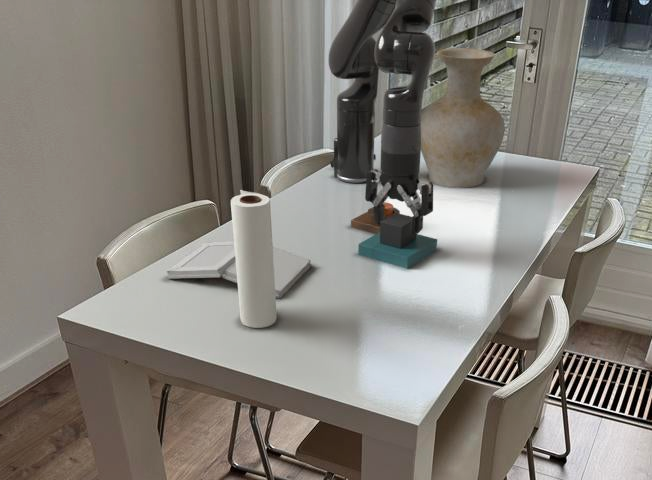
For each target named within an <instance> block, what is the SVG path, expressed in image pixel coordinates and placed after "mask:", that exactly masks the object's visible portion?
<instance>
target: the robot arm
mask: <svg viewBox="0 0 652 480" xmlns="http://www.w3.org/2000/svg"><path fill="white" fill-rule="evenodd" d="M436 2H437V0H356V2H355V4H354V6H353V8H352V10H351V12H350V13H349V14H348V17H347V19H346V20H345V21H344V23H343V25H342V26H341V28H340V29H339V31H338V32H337V33H336V35H335V37H334V38H333V40H332V42H331V45H330V47H329V51H328V67H329V70H330V73H331V74H332V75H333V76H334V77H335V78H337V79H340V80H353V82H352V83H351V85H350V86H349V87H348V88H346V89H344V90H343V91H341V92H339V94H338V95H337V96H336V137H335V138H334V139H333V157H332V160H331V161H330V163H329V164H330V168H332V169H333V177H334V178H336V179H338V180H339V181H342V182H345V183H352V184H360V183H365V193H364V199H365V201H366V202H370V203H371V204H372V205H373V207H374V221H376V224H378V225H380V221H382V220H384V214H385V205H384V204H383V203H384V202H385V201H387V199H388V198H389V199H390V200H397V201H398V202H402V203H403V202H404V203H405V205H406V207H407V208H409V209H410V212H411V213H412V215H413V216H411V217H412V234H415V235H416V234H420V232H421V231H422V230H423V228H424V226H423V225H424V217H425V216H428V215H430V214H432V213H433V211H434V183H433V182H432V181H429V182H420V179H419V174H420V169H421V154H422V152H421V112H422V111H423V109H422V107H423V99H424V92H425V88H426V86H427V85H426V84H427V81H428V78H429V76H430V75H429V74H430V72H431V69H432V66H433V63H434V60H435V55H436V45H435V41H434V40H433V37H432V36H431V35H430V34H428V33H426V31H427V30H428V29H429V28H430V27H431V25H432V21H433V17H434V12H435V8H436V4H437V3H436ZM379 32H380V33H379ZM378 33H379V35H378V37H377V39H375V38H374V37H373V36H375V35H376V34H378ZM380 72H382V73H386V74H393V75H405V76H406V75H407V76H412V77H411V81H410V83H408V84H404V85H399V86H393V87H390V88H388V89H386V90H385V92H384V95H383V108H382V109H383V110H382V114H383V115H382V127H381V133H380V134H381V135H380V137H381V138H380V167H379V169H380V171H381V172H380V171H379V170H378V169H377V168H375V161H376V159H377V155H376V153H375V130H376V129H375V126H376V124H375V123H376V121H375V119H376V101H377V97H378V91H379V74H380ZM374 168H375V169H374ZM379 182H380V184H381V186H382V188H381V189H380V191H379V192H378V185H379ZM418 190H419V192H418ZM419 194H420V195H421V197H420V195H419Z"/></svg>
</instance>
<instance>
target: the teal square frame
mask: <svg viewBox="0 0 652 480" xmlns="http://www.w3.org/2000/svg"><path fill="white" fill-rule="evenodd" d="M357 246H358V247H357V248H358V249H357V250H358V256H361V257H364V258H367V259H371V260H375V261H378V262H382V263H385V264H388V265H392V266H394V267H395V266H396V267H399V268H402V269H405V270H408V269H410V268H411V267H413V266H414V265H416V264H417V263H419V262H421V261H422V260H424V259H425V258H426V257H428V256H430V255H431V254H433V253H434V252H436V251H437V249H438V238H434V237H430V236H426V235H423V234H420V233H418V234H416V240H414V241H412V242H411V243H409V244H408V245H406V246H404V247H403V248H397V247H394V246H390V245H386V244H383V243H380V232H379V233H377V234H373V235H372V236H370V237H369V238H367V239H365V240H362V241H361V242H359V243H358V245H357Z"/></svg>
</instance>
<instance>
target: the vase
mask: <svg viewBox="0 0 652 480" xmlns="http://www.w3.org/2000/svg"><path fill="white" fill-rule="evenodd" d="M436 53H437V56H438V58H439V60H440V62H441V63H443V64H444V65H445V67H446V70H447V82H446V88H445V92H444V94H443V96H442V97H440V98H439V99H437V100H434V101H433V102H431V103H430V104H428V105H427V106H425V108H423V109H422V111H421V154H422V155H421V156H422V158H423V160H424V162H425V165H426V168H427V170H428V179H429V181H430V182H432V183H433V184H435V185H438V186H442V187H446V188H458V189H459V188H460V189H462V188H463V189H464V188H465V189H466V188H473V187H477V186H479V185H481V184H483V182H484V180H485V176H486V173H487V171H488V169H489V167H490V166H491V164H492V163H493V161H494V159H495V157H496V155H498V152H499V150H500V148H501V147H502V143H503V139H504V136H505V131H506V130H505V129H506V126H505V125H506V124H505V121H504V118H503V116H502V114H501V113H500V111H498V109H496V108H495V107H494V106H493V105H492V104H490V103H488V102H487V101H485V100H484V99H483V98H482V95H481V78H482V73H483V70H484V68H485V67H486V66H488V65H489V64H490V63H491V62H492V60H493V59H494V57H496V55H495V53H494V52H492V51H490V50H487V49H486V50H485V49H478V48H470V47H469V48H468V47H453V48H443V49H439V50H437V51H436Z"/></svg>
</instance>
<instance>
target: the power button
mask: <svg viewBox="0 0 652 480" xmlns="http://www.w3.org/2000/svg"><path fill="white" fill-rule="evenodd" d="M383 204H384V205H385V214H384V215H392V214H393V207H394V205H393V204H392V203H390V202H385V201H384V203H383Z"/></svg>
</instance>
